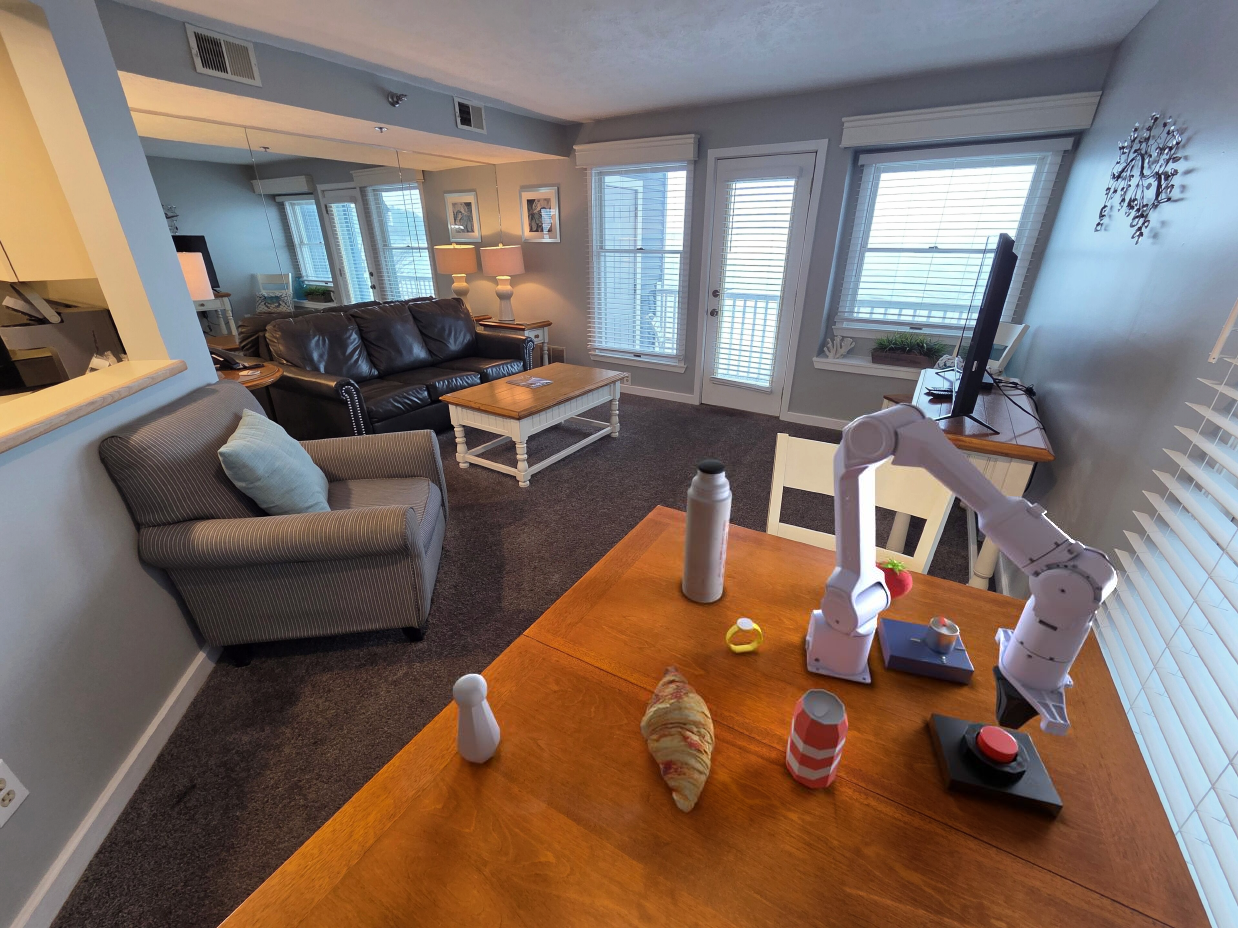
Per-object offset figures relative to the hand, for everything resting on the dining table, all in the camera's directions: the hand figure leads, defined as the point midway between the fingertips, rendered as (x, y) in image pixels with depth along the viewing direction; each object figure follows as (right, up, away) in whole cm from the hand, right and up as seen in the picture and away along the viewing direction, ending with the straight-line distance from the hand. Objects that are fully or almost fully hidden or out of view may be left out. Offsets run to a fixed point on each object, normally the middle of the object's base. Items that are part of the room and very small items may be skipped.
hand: (1006, 723), depth 64 cm
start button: (0, -4, +2) cm, 5 cm away
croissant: (-42, -6, +7) cm, 43 cm away
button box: (0, -8, +4) cm, 8 cm away
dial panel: (+2, +1, +21) cm, 21 cm away
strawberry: (+3, +7, +34) cm, 35 cm away
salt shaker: (-69, -7, +6) cm, 70 cm away
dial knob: (+4, +3, +19) cm, 20 cm away
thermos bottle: (-33, +8, +37) cm, 50 cm away
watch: (-28, +1, +23) cm, 36 cm away
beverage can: (-24, -8, +4) cm, 26 cm away
